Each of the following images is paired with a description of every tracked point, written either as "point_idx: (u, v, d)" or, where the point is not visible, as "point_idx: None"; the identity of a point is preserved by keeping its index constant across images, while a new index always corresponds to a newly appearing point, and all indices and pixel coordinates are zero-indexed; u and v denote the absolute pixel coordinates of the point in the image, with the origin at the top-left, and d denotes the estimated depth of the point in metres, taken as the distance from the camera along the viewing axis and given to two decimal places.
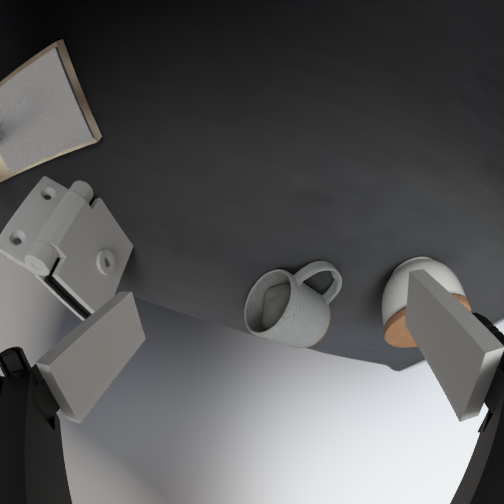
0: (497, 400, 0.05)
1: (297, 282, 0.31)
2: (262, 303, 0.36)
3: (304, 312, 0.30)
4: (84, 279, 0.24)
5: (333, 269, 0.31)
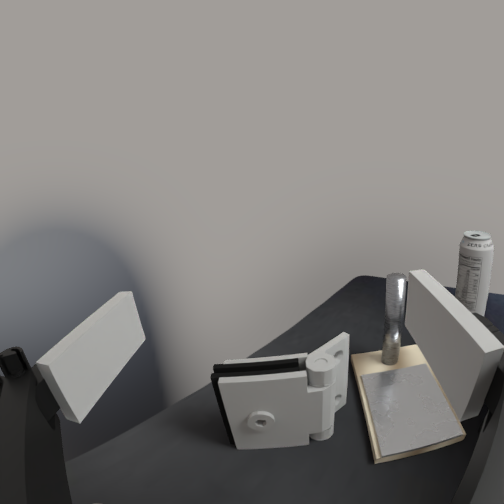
0: (497, 400, 0.05)
1: None
2: None
3: None
4: (273, 394, 0.24)
5: None
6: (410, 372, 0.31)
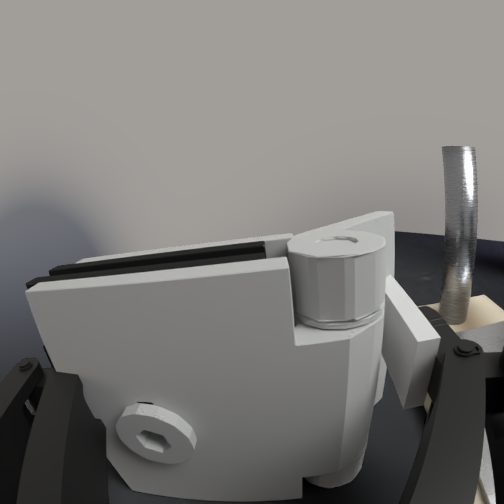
0: (438, 393, 0.07)
1: None
2: None
3: None
4: (171, 347, 0.07)
5: None
6: (495, 332, 0.14)
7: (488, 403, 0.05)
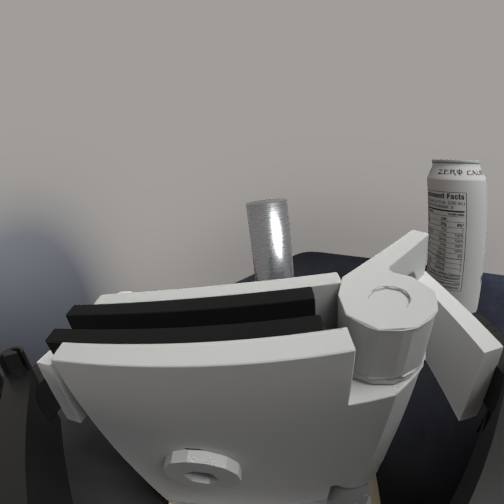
0: (496, 400, 0.05)
1: None
2: None
3: None
4: (227, 413, 0.07)
5: None
6: None
7: None
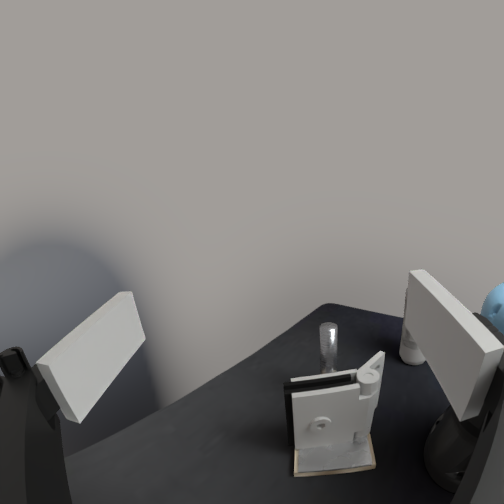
0: (497, 400, 0.05)
1: None
2: None
3: None
4: (333, 403, 0.29)
5: None
6: None
7: None
